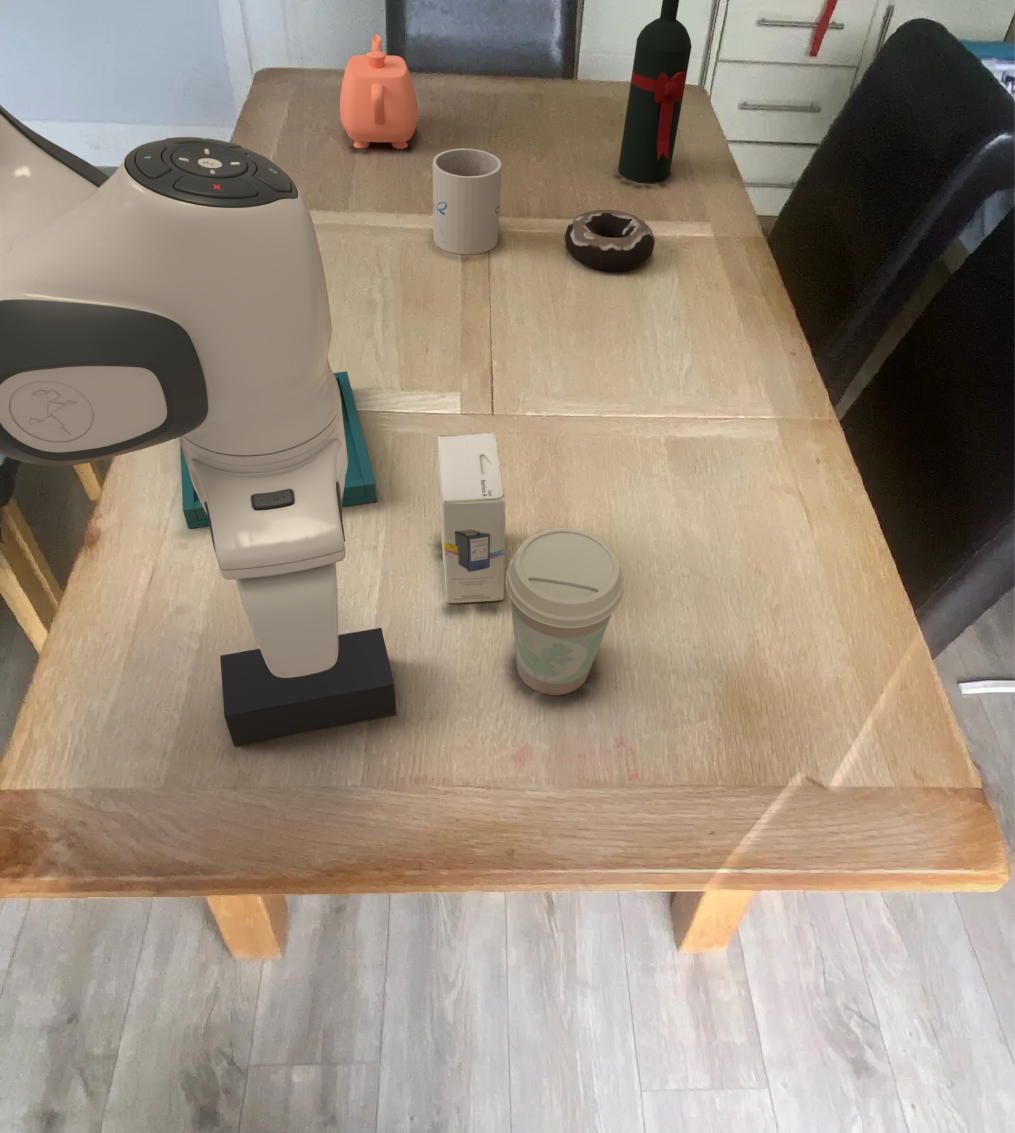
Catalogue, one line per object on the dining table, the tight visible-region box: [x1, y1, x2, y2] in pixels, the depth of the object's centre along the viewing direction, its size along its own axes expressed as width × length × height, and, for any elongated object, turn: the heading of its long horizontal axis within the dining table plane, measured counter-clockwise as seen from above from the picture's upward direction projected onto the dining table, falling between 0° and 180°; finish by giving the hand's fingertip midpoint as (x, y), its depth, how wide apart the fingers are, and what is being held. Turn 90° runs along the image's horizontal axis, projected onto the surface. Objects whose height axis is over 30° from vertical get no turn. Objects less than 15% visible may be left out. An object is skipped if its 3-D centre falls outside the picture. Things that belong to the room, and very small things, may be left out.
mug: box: [432, 148, 502, 256], centre depth 118 cm, size 12×9×10 cm
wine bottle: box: [618, 0, 692, 184], centre depth 126 cm, size 8×10×30 cm
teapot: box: [339, 34, 419, 150], centre depth 137 cm, size 20×12×12 cm, turn 6°
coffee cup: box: [505, 526, 625, 696], centre depth 68 cm, size 8×8×12 cm
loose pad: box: [219, 627, 397, 747], centre depth 68 cm, size 12×6×4 cm, turn 105°
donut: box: [564, 209, 656, 272], centre depth 118 cm, size 12×12×4 cm
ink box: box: [437, 432, 506, 604], centre depth 75 cm, size 9×5×12 cm, turn 6°
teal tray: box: [179, 370, 378, 529], centre depth 88 cm, size 17×18×2 cm
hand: (298, 604), depth 61 cm, fingers open, 8 cm apart
